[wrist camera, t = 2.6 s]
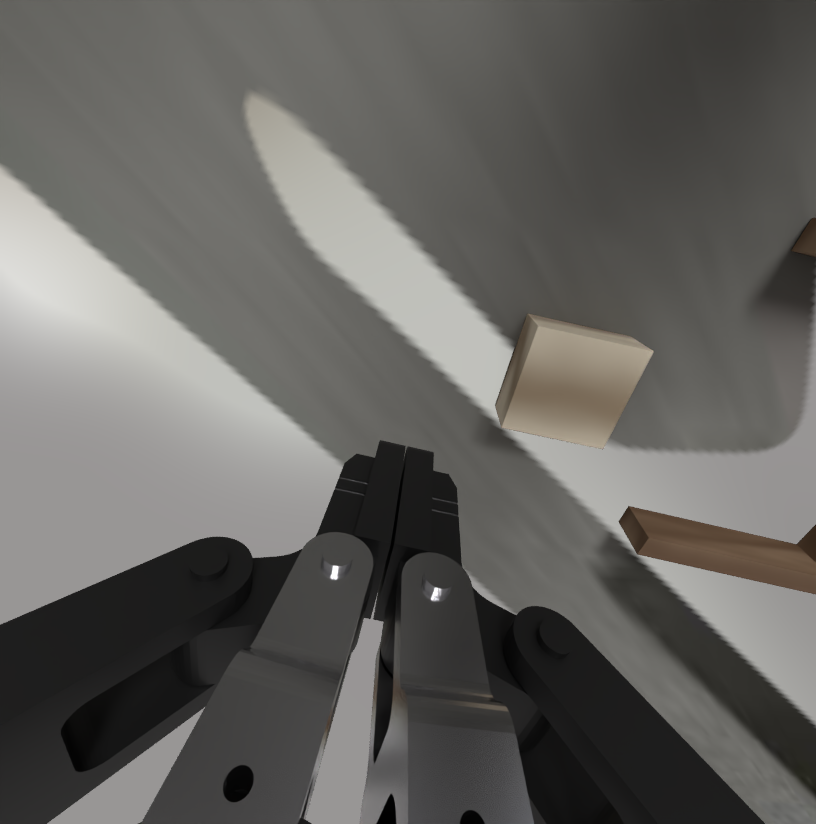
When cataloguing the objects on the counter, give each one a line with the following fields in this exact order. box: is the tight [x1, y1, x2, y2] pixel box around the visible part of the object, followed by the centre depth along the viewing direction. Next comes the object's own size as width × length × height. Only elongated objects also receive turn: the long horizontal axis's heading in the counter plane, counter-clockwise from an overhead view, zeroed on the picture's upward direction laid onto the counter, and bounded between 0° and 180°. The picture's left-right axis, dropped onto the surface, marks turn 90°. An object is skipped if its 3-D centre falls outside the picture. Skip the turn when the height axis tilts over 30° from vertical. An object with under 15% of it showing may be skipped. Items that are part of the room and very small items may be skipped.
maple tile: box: [495, 314, 654, 449], centre depth 22 cm, size 6×6×3 cm
